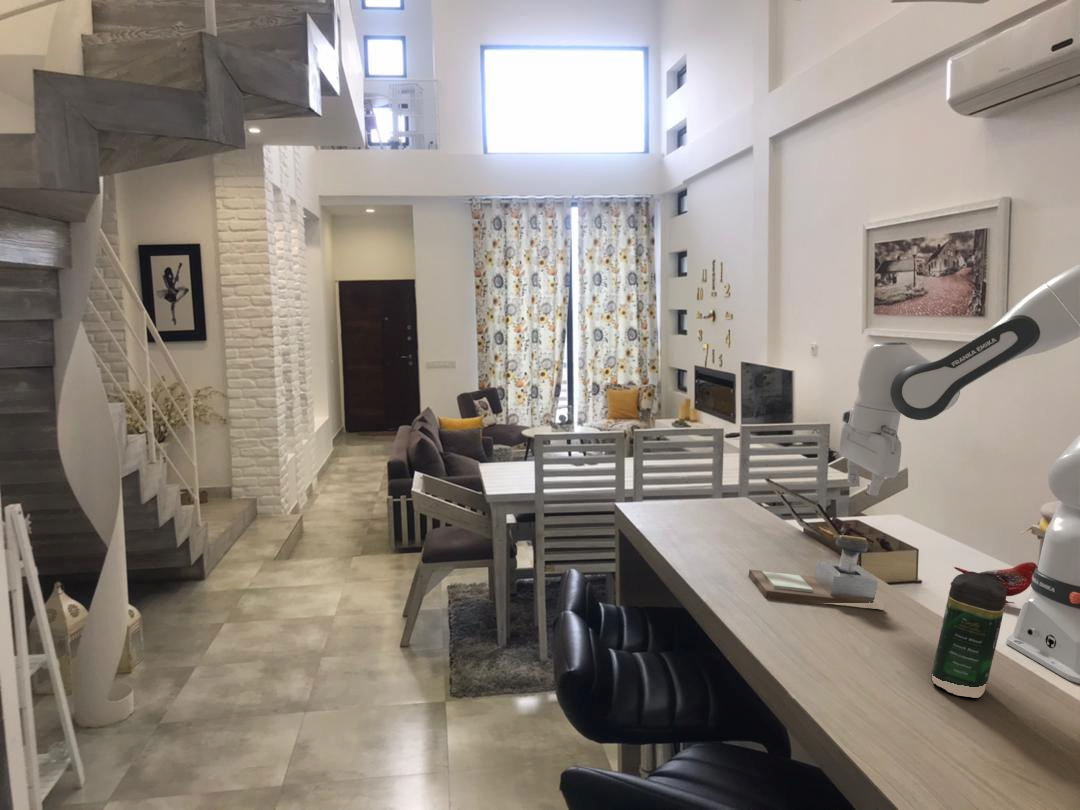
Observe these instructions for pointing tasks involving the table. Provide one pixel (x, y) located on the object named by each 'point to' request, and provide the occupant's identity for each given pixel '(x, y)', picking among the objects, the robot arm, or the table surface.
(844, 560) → the peg
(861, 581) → the grey socket block
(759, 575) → the walnut board
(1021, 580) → the decorative bird figurine
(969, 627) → the coffee jar
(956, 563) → the table surface
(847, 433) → the robot arm
